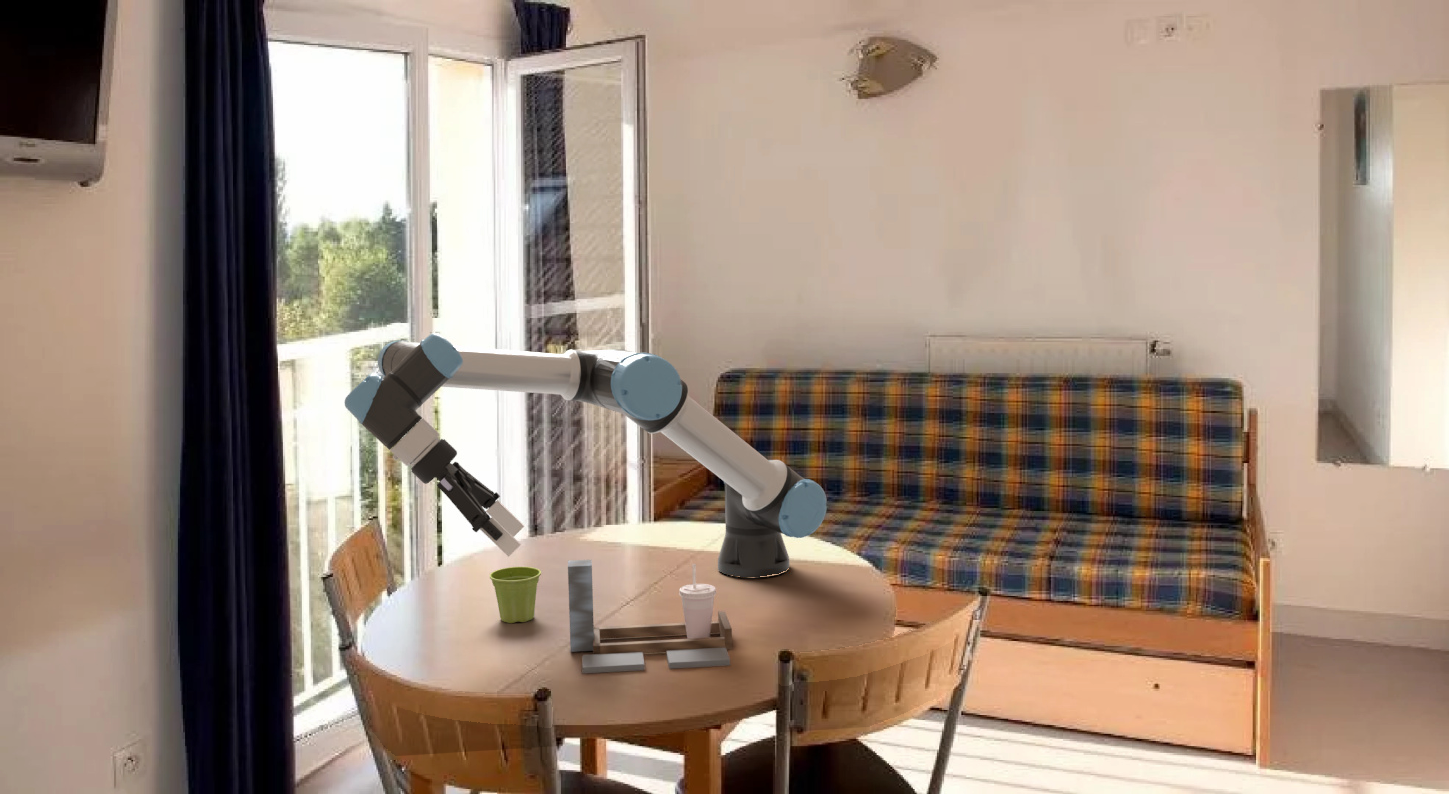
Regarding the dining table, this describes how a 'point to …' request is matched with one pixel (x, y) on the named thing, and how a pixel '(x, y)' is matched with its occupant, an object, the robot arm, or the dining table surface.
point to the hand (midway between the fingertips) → (516, 540)
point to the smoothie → (697, 607)
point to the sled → (589, 636)
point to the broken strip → (636, 660)
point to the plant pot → (516, 592)
